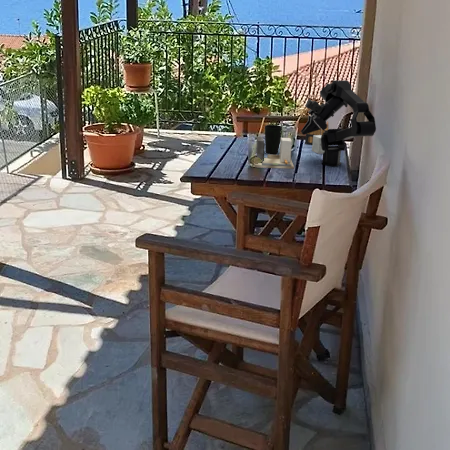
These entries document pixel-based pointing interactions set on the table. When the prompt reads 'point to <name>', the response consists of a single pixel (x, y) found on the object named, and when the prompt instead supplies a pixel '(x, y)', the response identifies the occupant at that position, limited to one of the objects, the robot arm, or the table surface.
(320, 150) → the skincare box
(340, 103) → the robot arm
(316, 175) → the table surface
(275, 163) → the frame
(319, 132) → the ammunition clip
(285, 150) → the gauge slider
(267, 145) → the cup
